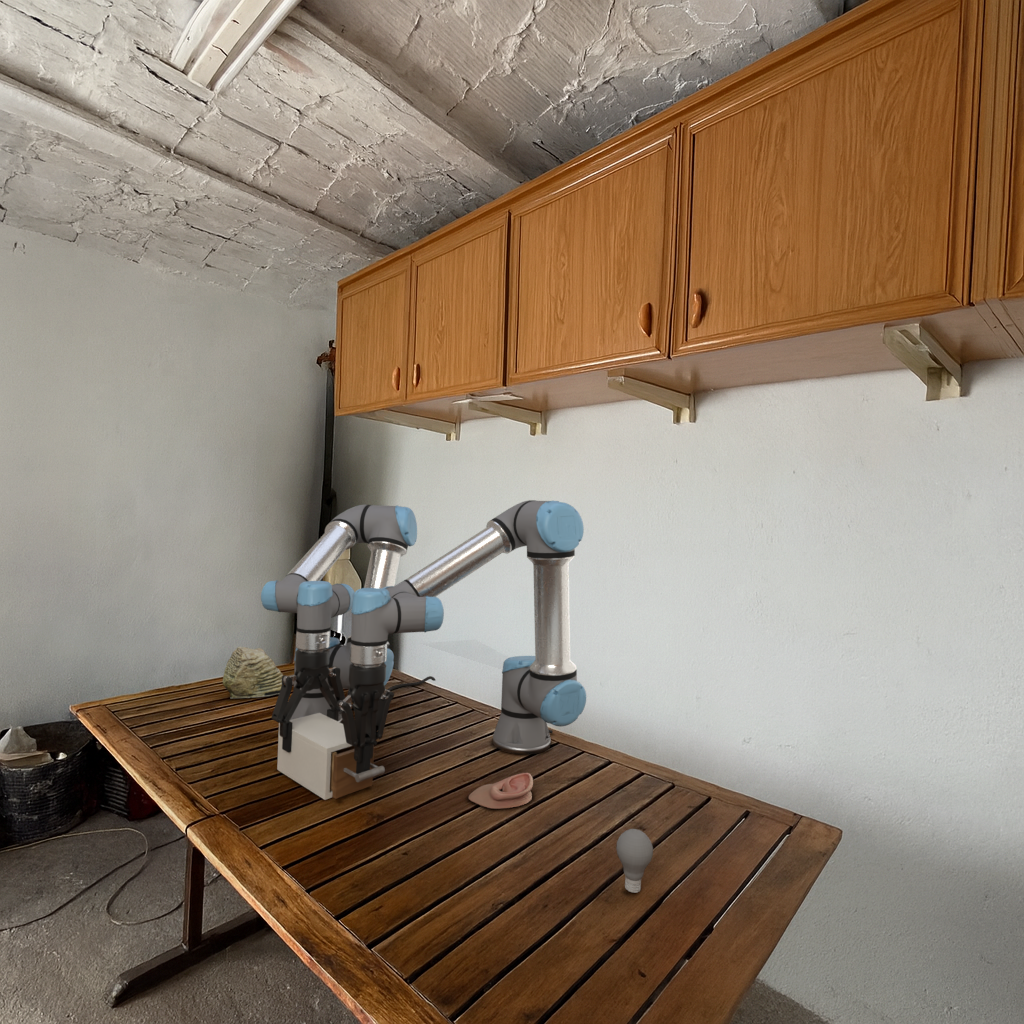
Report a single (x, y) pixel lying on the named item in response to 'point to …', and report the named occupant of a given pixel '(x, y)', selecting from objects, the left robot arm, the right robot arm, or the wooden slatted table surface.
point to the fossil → (251, 674)
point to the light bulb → (634, 857)
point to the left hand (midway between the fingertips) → (309, 743)
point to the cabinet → (312, 752)
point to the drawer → (350, 773)
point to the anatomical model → (504, 792)
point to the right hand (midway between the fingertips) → (362, 775)
